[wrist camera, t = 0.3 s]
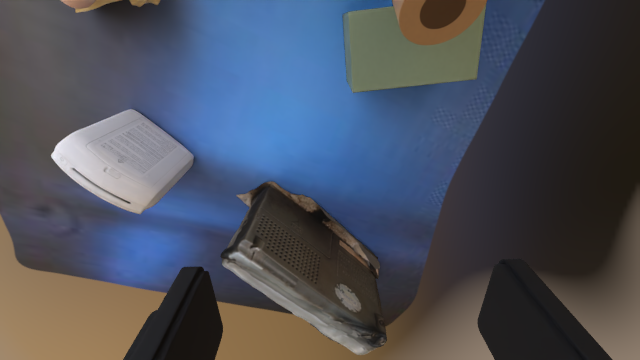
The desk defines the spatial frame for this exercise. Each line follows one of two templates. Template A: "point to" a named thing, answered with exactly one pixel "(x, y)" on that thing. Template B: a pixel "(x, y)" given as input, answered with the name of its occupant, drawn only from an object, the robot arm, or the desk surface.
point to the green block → (404, 53)
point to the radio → (309, 266)
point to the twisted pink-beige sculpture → (101, 3)
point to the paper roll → (435, 18)
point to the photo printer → (124, 160)
